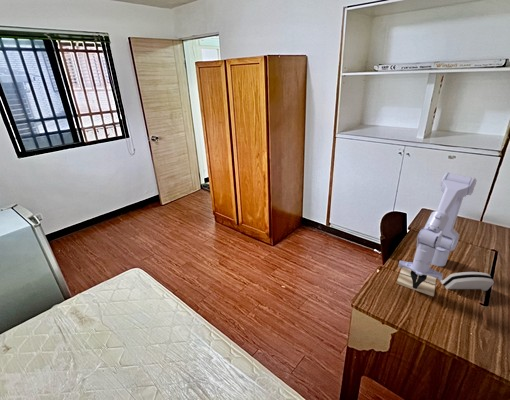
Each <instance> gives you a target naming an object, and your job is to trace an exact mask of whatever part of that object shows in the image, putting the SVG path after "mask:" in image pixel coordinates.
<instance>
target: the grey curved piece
mask: <svg viewBox="0 0 510 400" xmlns="http://www.w3.org/2000/svg"><path fill="white" fill-rule="evenodd" d="M491 277H492V276H491V275H490V274H489V273H487V272H481V271H479V272H478V271H463V272H455V273H454V272H453V273H450V274H449V275H448V276H447V277H445V278H444V279H442V280H439V282H440V283H441V285H442V286H444V288H445V289H446V290H481V291H483V292H484V291H485V292H486V291H488V290H489V289H490V288H491V287H492V286H493V285H494V283H495V282H494V279H493V278H491Z"/></svg>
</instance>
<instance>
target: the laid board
mask: <svg viewBox="0 0 510 400" xmlns="http://www.w3.org/2000/svg"><path fill="white" fill-rule="evenodd" d="M399 274H401V275H404V276H407V277H410V278H412V277H411V270H410V269H407V268H404V267H400V270H399ZM418 276H419V275H418ZM417 279H418V277H417ZM423 282H425V283H428V284H431V285H434V286H436V282H437V278H434V277H431V276H428V275H427V278H426V280H425V281H423Z"/></svg>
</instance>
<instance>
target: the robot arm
mask: <svg viewBox="0 0 510 400" xmlns="http://www.w3.org/2000/svg"><path fill="white" fill-rule="evenodd" d="M476 183H477V179H476V177H471V176H466V175H461V174H460V175H459V174H456V173H451V172H446V173H444V175H443V176H442V179H441V183H440V187H441V191H442V193H443V194H442V196H441V199H440V201H439V204H438V206H437V209H436V210H435V211H432V212H431V213H430V216H429V217H428V219H427V221H426V223H425V225H424V227H423V228H421V229H420V230H419V232H418V234H417V237H416V250H415V253H414V258H413V259H412V260H413V262H412V261H403V260H399V262H398V265H397V266H398V268H402V267H404V268H407V269H410V270H411V277H412V281H413V288H415V289H417V287H418V286H419V285H420V284H421V283H422V282H423V281H425V280H426V278H427V275H428V276H431V277H434V278H436V279H437V280H438V281H440V280H443V277H444V273H442V272H439V271H438V270H435V269H433V268H431V267H432V265H433V266H436V267H445V266H446V264H447V261H448V258H449V255H450V252H453V251H455V249H456V247H457V245H458V242H459V238H460V233H458V231H457V230H455V228H454V227H455V225H456V224H455V223H456V221H457V218H458V215H459V212H460V209H461V206H462V202H463V200H464V198H465V197H467V196H471V195H472V194H473V193H474V190H475V187H476ZM418 275H419V276H418ZM411 277H410V278H411ZM417 277H418V279H417ZM416 280H417V282H416Z"/></svg>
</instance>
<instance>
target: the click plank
mask: <svg viewBox="0 0 510 400" xmlns="http://www.w3.org/2000/svg"><path fill="white" fill-rule="evenodd" d="M397 277H398V278H397V281H396V284H397V285H400V286H403V287H405V288H408V289H410V290H413V291H417V292H419V293H422V294H425V295H428V296H431V297H433V298H434V296H435V291H436V285H432V284H429V283H426V282H422V283H421V284H420V285H419V286H418V287H417V289H415V288H413V281H412V278H411V277H408V276H405V275H402V274H400V273H399V274H398V276H397ZM416 282H417V280H416Z"/></svg>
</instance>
